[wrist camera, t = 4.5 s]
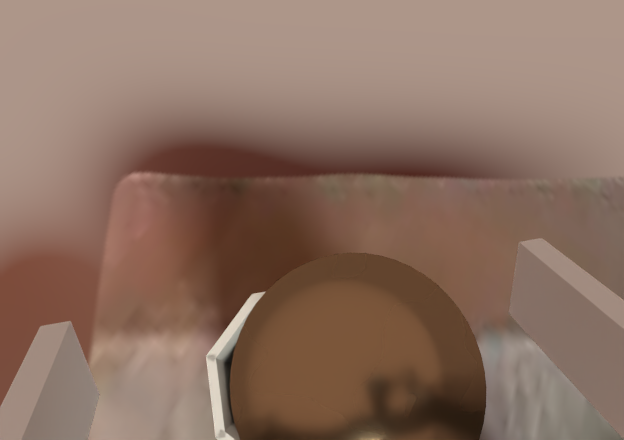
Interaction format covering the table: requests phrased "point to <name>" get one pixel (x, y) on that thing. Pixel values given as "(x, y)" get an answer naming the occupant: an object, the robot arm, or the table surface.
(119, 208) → the table surface
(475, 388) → the plunger
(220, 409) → the jug
